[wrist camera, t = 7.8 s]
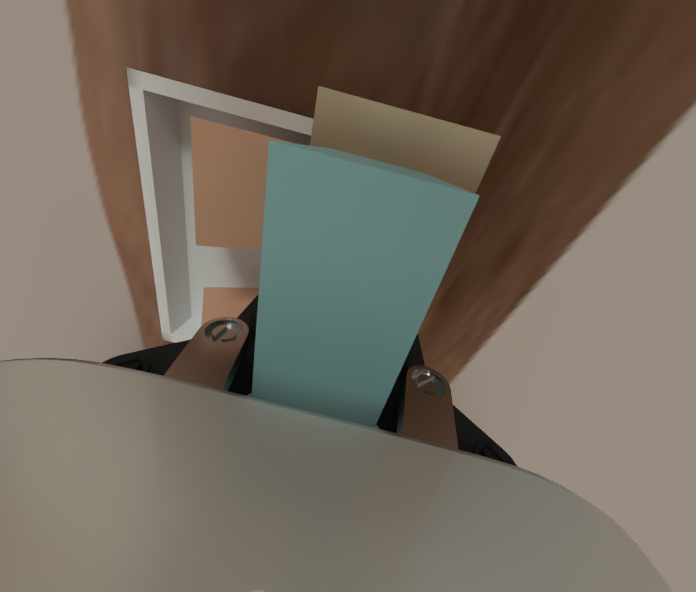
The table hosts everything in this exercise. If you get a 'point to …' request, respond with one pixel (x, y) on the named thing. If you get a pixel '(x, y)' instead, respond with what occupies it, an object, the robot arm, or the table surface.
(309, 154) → the bar
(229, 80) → the table surface
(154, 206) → the tray
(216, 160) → the tan cube
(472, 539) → the robot arm
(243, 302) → the peach cube
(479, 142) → the beige gold flat block
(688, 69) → the table surface
